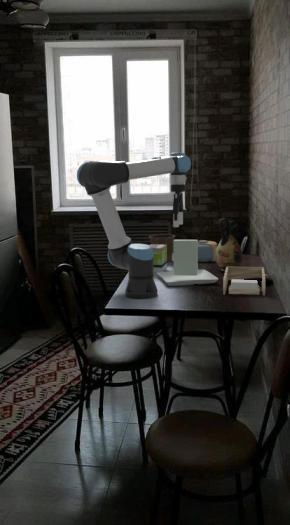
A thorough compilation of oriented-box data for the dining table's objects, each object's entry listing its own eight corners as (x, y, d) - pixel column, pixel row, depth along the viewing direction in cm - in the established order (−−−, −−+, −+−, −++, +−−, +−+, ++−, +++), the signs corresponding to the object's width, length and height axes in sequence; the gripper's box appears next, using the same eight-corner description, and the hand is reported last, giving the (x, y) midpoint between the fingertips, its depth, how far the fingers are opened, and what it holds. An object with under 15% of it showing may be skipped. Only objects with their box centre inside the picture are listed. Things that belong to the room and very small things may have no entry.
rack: (265, 295, 241) (265, 280, 239) (223, 294, 244) (223, 279, 243) (263, 280, 272) (263, 267, 271) (226, 279, 276) (226, 266, 275)
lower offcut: (259, 295, 243) (259, 289, 242) (228, 294, 245) (228, 288, 245) (259, 292, 250) (259, 285, 249) (229, 291, 252) (229, 285, 252)
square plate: (204, 275, 291) (204, 268, 290) (219, 285, 264) (219, 278, 264) (156, 278, 287) (155, 271, 286) (166, 288, 260) (166, 281, 259)
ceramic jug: (229, 266, 311) (229, 216, 306) (247, 270, 299) (248, 217, 293) (207, 270, 302) (207, 218, 297) (225, 274, 290) (225, 220, 284)
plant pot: (146, 262, 329) (146, 237, 327) (153, 258, 345) (153, 234, 342) (171, 263, 325) (171, 237, 322) (177, 259, 340) (177, 234, 337)
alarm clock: (220, 261, 329) (220, 242, 327) (188, 262, 329) (188, 243, 327) (217, 256, 348) (217, 238, 346) (186, 257, 348) (186, 239, 346)
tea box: (163, 274, 294) (162, 247, 292) (145, 273, 296) (144, 247, 294) (167, 268, 309) (167, 243, 306) (150, 268, 311) (150, 243, 308)
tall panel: (196, 275, 271) (196, 240, 268) (173, 275, 273) (173, 240, 271) (197, 273, 276) (197, 239, 273) (175, 273, 278) (174, 239, 275)
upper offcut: (257, 289, 242) (257, 282, 242) (231, 288, 245) (231, 282, 244) (257, 285, 249) (257, 279, 249) (231, 285, 251) (231, 279, 251)
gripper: (181, 184, 254) (181, 228, 257) (188, 183, 278) (188, 223, 281) (166, 184, 255) (166, 228, 259) (174, 183, 279) (174, 223, 283)
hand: (178, 225), depth 270 cm, fingers open, 13 cm apart
